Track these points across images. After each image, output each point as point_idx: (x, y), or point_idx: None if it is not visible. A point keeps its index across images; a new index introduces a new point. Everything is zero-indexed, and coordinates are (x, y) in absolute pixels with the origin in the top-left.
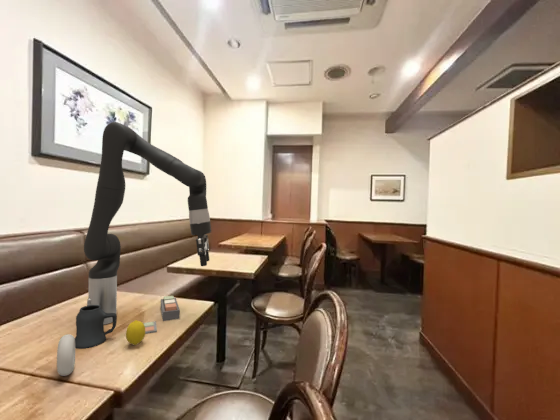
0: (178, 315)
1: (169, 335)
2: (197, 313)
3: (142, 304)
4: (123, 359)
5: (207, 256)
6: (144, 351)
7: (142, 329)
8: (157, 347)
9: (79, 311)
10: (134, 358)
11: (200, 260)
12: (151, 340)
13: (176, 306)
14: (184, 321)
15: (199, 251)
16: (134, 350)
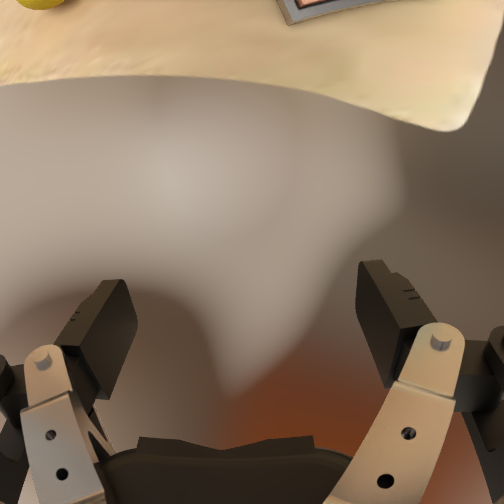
0: (287, 19)
1: (130, 44)
2: (349, 85)
3: None
4: (6, 16)
5: (371, 334)
6: (36, 34)
7: (30, 7)
8: (56, 53)
9: None
10: (9, 36)
11: (81, 316)
12: (94, 9)
13: (303, 3)
14: (260, 50)
15: (33, 400)
16: None
